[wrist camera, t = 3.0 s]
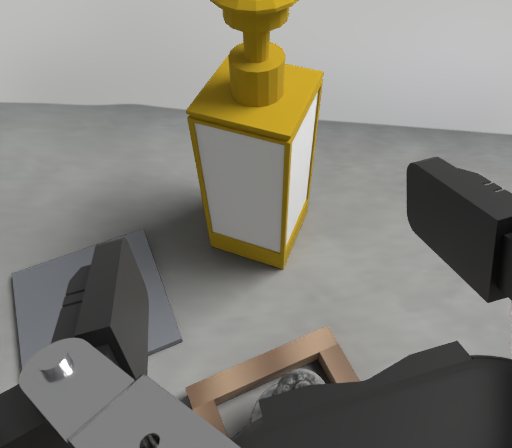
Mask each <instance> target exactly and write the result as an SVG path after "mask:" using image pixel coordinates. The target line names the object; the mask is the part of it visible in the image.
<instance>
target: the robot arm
mask: <svg viewBox="0 0 512 448" xmlns="http://www.w3.org/2000/svg"><path fill="white" fill-rule="evenodd" d="M407 217H408V221H409V224H410V226H411V228H412V230H413V231H414V232H415V233H416V234H417V235H418V236H419V237H420V238H421V239H422V240H423V241H424V242H425V243H426V244H427V245H428V246H429V247H430V248H431V249H432V250H433V251H434V252H435V253H436V254H437V255H438V256H439V257H440V258H442V259H443V260H444V261H445V262H446V263H447V264H448V265H449V266H450V267H451V268H452V269H453V270H454V271H455V272H456V273H457V274H458V275H459V276H460V277H461V278H462V279H463V280H464V281H465V282H467V283H468V284H469V285H470V286H471V287H472V288H473V289H474V290H475V291H476V292H477V293H478V294H479V295H480V296H481V297H482V298H483V299H484V300H485V301H486V302H487V303H489V302H493V301H496V300H500V299H503V298H507V297H508V298H510V299H511V300H512V193H510V192H508V191H506V190H502V188H501V187H500V186H498V185H496V184H495V183H491V181H489V180H488V179H486V178H484V177H483V176H481V175H479V174H478V173H474V172H470V171H467V170H463V169H459V168H458V169H457V168H456V167H454V166H452V165H451V164H449V163H447V162H446V161H444V160H443V159H441V158H439V157H433V158H429V159H425V160H421V161H417V162H413V163H410V164H409V166H408V168H407ZM65 295H66V297H64V301H63V304H62V307H63V308H61V311H60V314H59V317H58V321H57V324H56V327H55V331H54V334H53V337H52V341H51V344H50V345H48V346H46V347H45V348H43V349H41V350H40V351H39V352H37V353H36V354H35V355H34V356H33V357H32V358H31V359H30V360H29V361H28V362H27V363H26V365H25V366H24V367H23V369H22V371H21V373H20V377H19V384H18V385H16V386H14V387H13V388H11V389H9V390H7V391H5V392H3V393H1V394H0V448H512V303H511V309H510V359H508V358H503V357H496V356H484V355H469V354H468V353H467V352H466V351H465V349H464V348H463V347H462V346H461V345H460V343H459V342H458V341H455V342H452V343H448V344H445V345H441V346H438V347H435V348H431V349H428V350H425V351H421V352H418V353H415V354H411V355H409V356H407V357H405V358H404V359H402V360H400V361H399V362H397V363H395V364H394V365H392V366H390V367H388V368H387V369H385V370H383V371H382V372H380V373H378V374H377V375H375V376H373V377H372V378H370V379H368V380H365V381H359V382H345V383H330V384H316V385H307V386H303V387H300V388H297V389H293V390H290V391H287V392H283V393H280V394H277V395H273V396H270V397H266V398H263V399H260V400H258V401H259V406H260V410H261V414H262V417H260V418H259V419H257V420H255V421H254V422H252V423H251V424H249V425H248V426H247V427H245V428H244V429H243V430H242V431H241V432H240V433H239V434H237V435H236V436H235V437H234V438H233V439H232V440H230V439H229V438H228V437H226V436H225V435H224V434H222V433H221V432H220V431H219V430H217V429H216V428H215V427H213V426H212V425H211V424H209V423H208V422H207V421H206V420H204V419H203V418H202V417H200V416H199V415H198V414H196V413H195V412H194V411H193V410H191V409H190V408H189V407H187V406H186V405H185V404H183V403H182V402H181V401H180V400H178V399H177V398H176V397H174V396H173V395H172V394H170V393H169V392H168V391H166V390H165V389H164V388H163V387H161V386H160V385H159V384H157V383H156V382H155V381H153V380H152V379H151V378H149V377H148V376H147V363H148V326H149V298H148V293H147V289H146V286H145V283H144V280H143V277H142V275H141V272H140V270H139V267H138V265H137V263H136V260H135V258H134V255H133V253H132V250H131V248H130V245H129V243H128V241H127V239H126V238H125V237H122V238H118V239H114V240H111V241H107V242H103V243H99V244H96V246H95V250H94V254H93V258H92V262H91V265H87V266H83V267H80V269H79V270H78V271H77V272H76V273H75V275H74V276H73V277H72V278H71V279H70V281H69V284H68V287H67V290H66V294H65Z"/></svg>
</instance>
